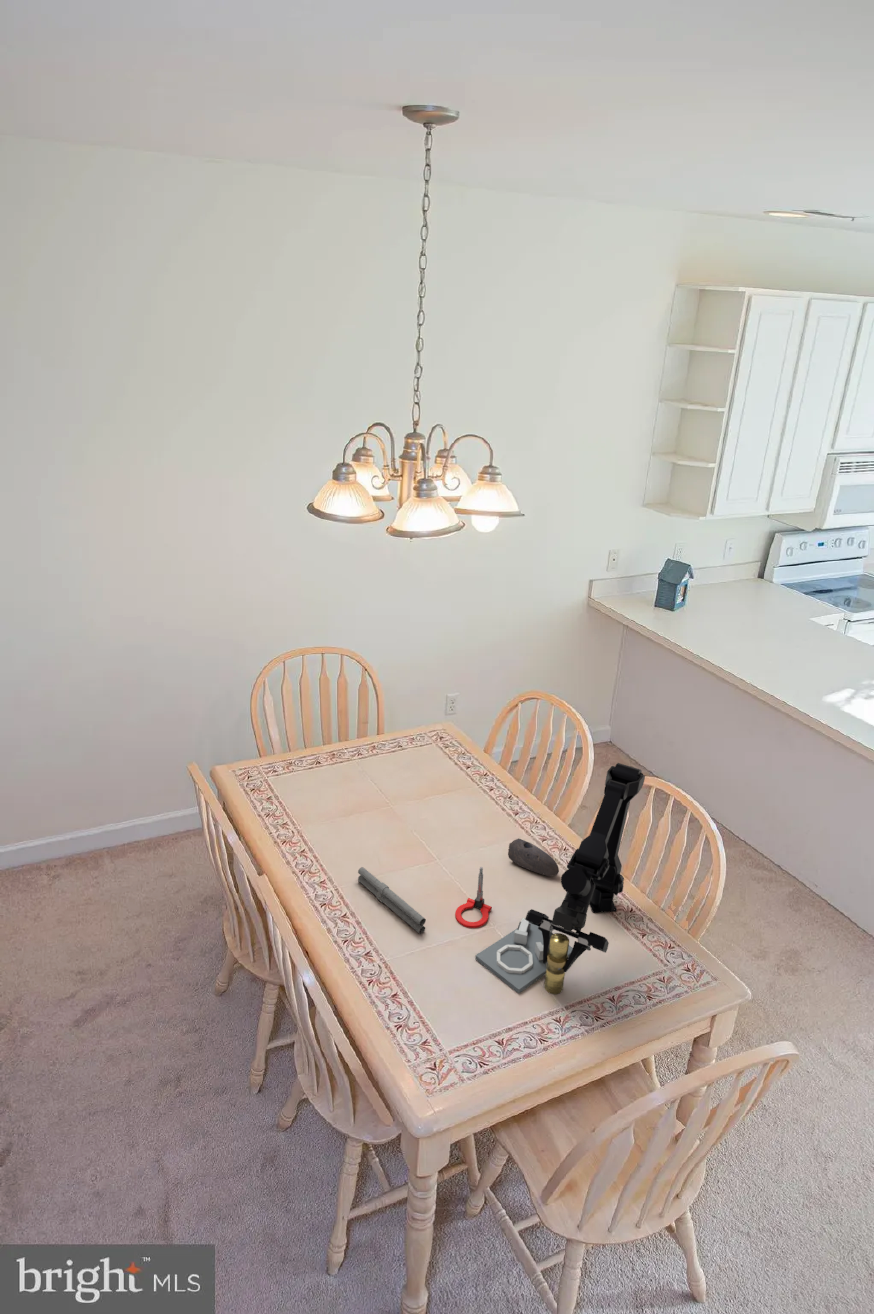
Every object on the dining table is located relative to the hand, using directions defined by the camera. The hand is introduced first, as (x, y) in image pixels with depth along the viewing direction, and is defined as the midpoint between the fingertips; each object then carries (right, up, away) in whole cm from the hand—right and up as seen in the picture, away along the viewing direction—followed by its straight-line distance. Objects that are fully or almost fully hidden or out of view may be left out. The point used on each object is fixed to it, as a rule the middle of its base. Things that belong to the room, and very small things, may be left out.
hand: (554, 967), depth 197 cm
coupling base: (-5, -2, +13) cm, 14 cm away
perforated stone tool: (0, +11, +44) cm, 45 cm away
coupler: (0, -6, +4) cm, 7 cm away
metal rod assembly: (-39, +6, +27) cm, 47 cm away
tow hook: (-17, +4, +25) cm, 31 cm away
